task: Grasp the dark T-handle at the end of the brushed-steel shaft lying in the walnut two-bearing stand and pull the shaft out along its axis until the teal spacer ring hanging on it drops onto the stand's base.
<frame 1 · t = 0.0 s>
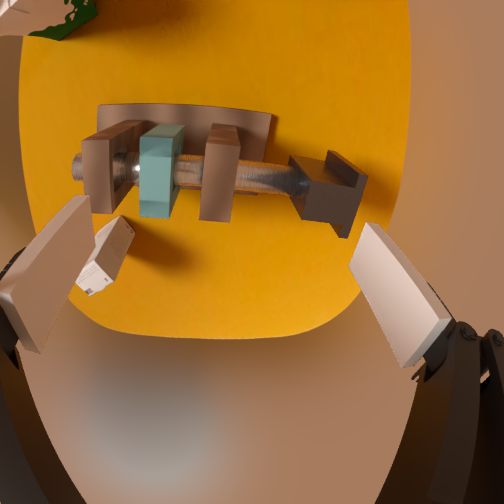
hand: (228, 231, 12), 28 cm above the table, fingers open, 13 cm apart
shaft: (206, 173, 27), point 12 cm above the table, slide at 0.0 cm, touching spacer ring
bearing stand: (177, 145, 36), on the table
milk carton: (74, 12, 21), on the table
skincare box: (117, 232, 43), on the table
spacer ring: (169, 157, 31), point 6 cm above the table, touching shaft
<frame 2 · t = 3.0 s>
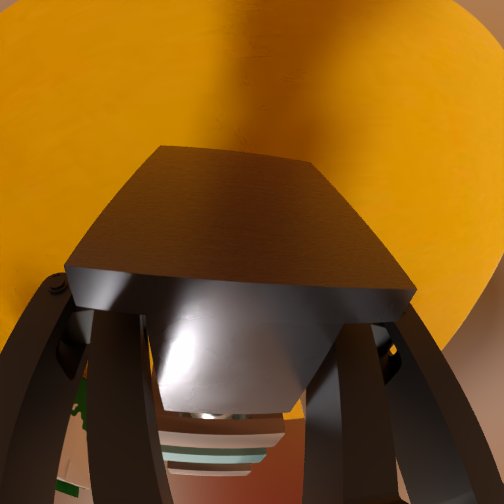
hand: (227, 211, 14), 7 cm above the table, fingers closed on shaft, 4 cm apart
shaft: (212, 405, 16), point 12 cm above the table, slide at 0.0 cm, touching gripper, spacer ring
bearing stand: (209, 325, 28), on the table
milk carton: (75, 381, 35), on the table
spacer ring: (209, 377, 23), point 6 cm above the table, touching shaft
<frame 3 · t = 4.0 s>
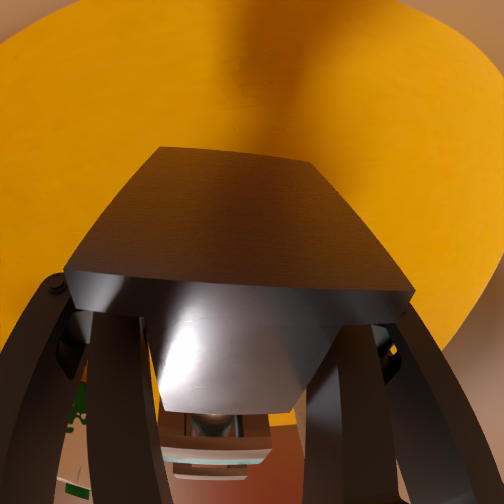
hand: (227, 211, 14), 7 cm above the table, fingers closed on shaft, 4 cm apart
shaft: (213, 405, 16), point 11 cm above the table, slide at 3.7 cm, touching gripper
bearing stand: (209, 345, 31), on the table
milk carton: (84, 392, 38), on the table
skincare box: (308, 383, 39), on the table
spacer ring: (210, 380, 24), point 6 cm above the table
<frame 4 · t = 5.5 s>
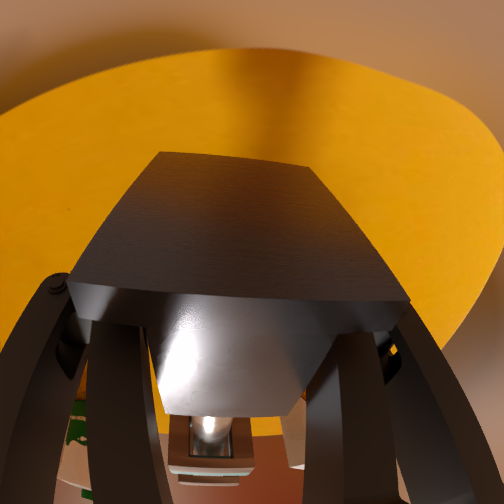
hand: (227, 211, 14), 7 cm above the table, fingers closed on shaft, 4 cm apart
shaft: (213, 406, 17), point 12 cm above the table, slide at 10.6 cm, touching gripper
bearing stand: (208, 375, 34), on the table
milk carton: (96, 407, 42), on the table
skincare box: (295, 402, 42), on the table
spacer ring: (208, 409, 28), point 6 cm above the table
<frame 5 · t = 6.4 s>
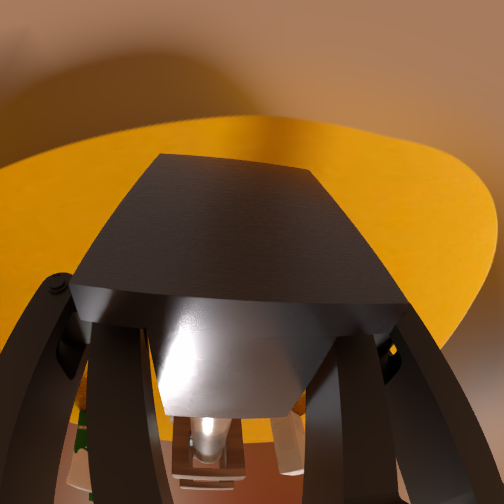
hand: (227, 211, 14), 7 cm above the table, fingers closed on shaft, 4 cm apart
shaft: (212, 407, 17), point 11 cm above the table, slide at 15.5 cm, touching gripper
bearing stand: (205, 392, 37), on the table
milk carton: (101, 417, 44), on the table
skincare box: (286, 414, 45), on the table
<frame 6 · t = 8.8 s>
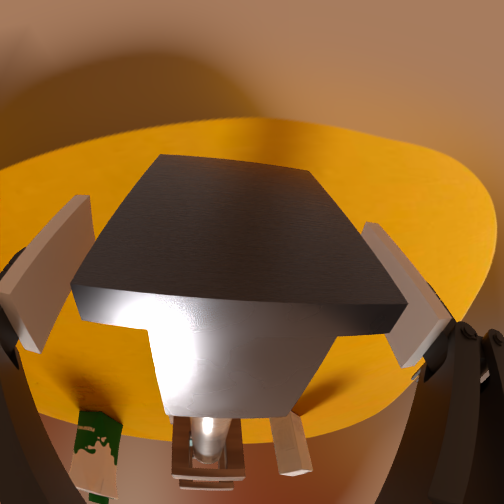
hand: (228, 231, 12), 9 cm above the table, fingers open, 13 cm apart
shaft: (212, 408, 17), point 11 cm above the table, slide at 15.6 cm
bearing stand: (205, 393, 37), on the table
milk carton: (101, 417, 44), on the table
skincare box: (285, 415, 45), on the table
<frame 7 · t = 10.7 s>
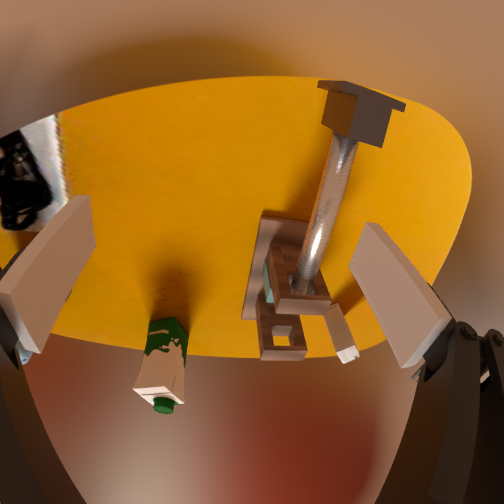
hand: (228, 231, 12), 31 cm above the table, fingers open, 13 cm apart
shaft: (328, 205, 33), point 12 cm above the table, slide at 15.6 cm
bearing stand: (280, 274, 54), on the table
milk carton: (169, 328, 62), on the table
skincare box: (333, 312, 62), on the table
spacer ring: (284, 267, 51), point 1 cm above the table, touching bearing stand
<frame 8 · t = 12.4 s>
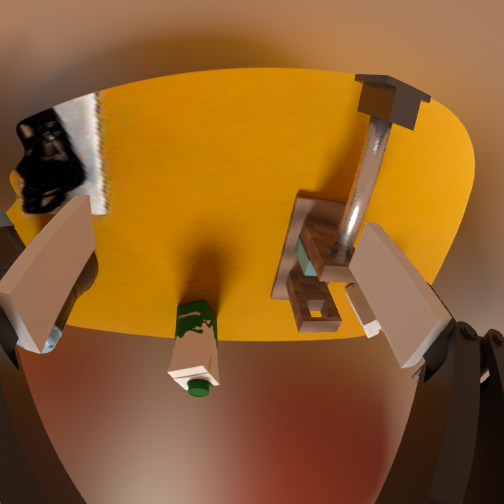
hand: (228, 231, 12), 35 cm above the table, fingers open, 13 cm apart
shaft: (366, 180, 36), point 12 cm above the table, slide at 15.6 cm
bearing stand: (310, 253, 57), on the table
milk carton: (197, 312, 64), on the table
skincare box: (354, 291, 65), on the table
spacer ring: (315, 244, 54), point 1 cm above the table, touching bearing stand
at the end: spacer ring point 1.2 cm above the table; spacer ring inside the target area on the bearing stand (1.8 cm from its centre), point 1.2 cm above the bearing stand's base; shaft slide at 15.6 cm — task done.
